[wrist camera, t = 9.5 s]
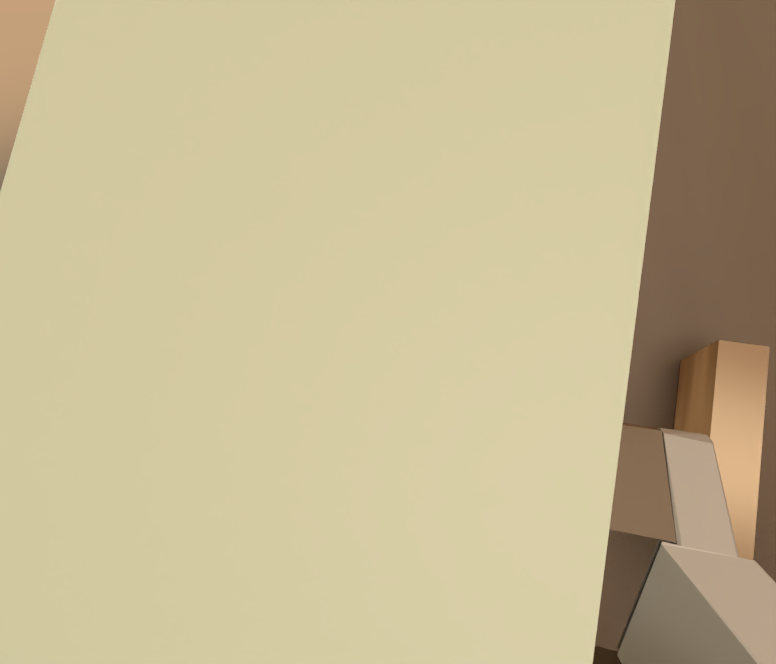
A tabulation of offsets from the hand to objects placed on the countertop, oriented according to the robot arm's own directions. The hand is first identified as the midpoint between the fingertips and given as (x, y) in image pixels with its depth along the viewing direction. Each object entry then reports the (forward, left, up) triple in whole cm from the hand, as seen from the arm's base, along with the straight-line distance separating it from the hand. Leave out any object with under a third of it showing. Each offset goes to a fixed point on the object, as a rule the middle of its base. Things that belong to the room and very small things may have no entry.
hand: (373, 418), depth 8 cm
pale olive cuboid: (-1, 0, -5) cm, 5 cm away
